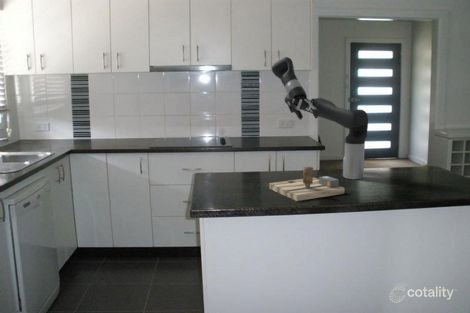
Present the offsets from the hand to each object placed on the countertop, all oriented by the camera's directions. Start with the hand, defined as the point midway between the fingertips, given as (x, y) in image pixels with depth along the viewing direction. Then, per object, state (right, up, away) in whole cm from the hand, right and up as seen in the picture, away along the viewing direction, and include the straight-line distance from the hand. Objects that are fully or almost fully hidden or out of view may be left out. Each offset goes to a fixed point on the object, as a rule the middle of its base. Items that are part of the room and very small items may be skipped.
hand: (309, 117), depth 191 cm
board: (-3, -32, -6) cm, 33 cm away
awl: (-3, -33, -11) cm, 35 cm away
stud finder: (+7, -30, -7) cm, 31 cm away
